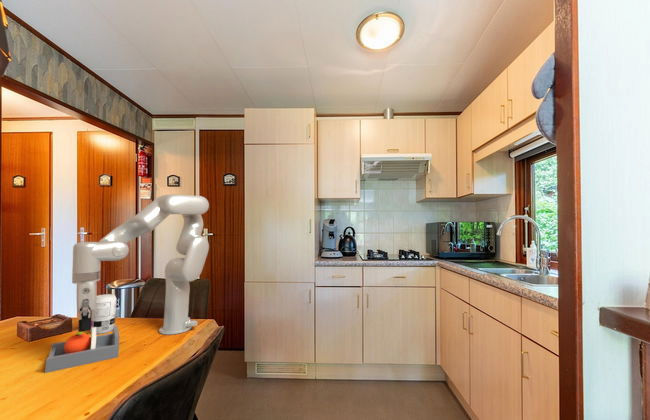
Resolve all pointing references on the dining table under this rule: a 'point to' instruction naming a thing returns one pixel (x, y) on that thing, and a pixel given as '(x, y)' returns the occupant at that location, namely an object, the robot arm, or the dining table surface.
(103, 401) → the dining table surface
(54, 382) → the dining table surface
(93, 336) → the pusher
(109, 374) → the dining table surface
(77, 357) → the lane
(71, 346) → the clementine
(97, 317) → the supplement can
